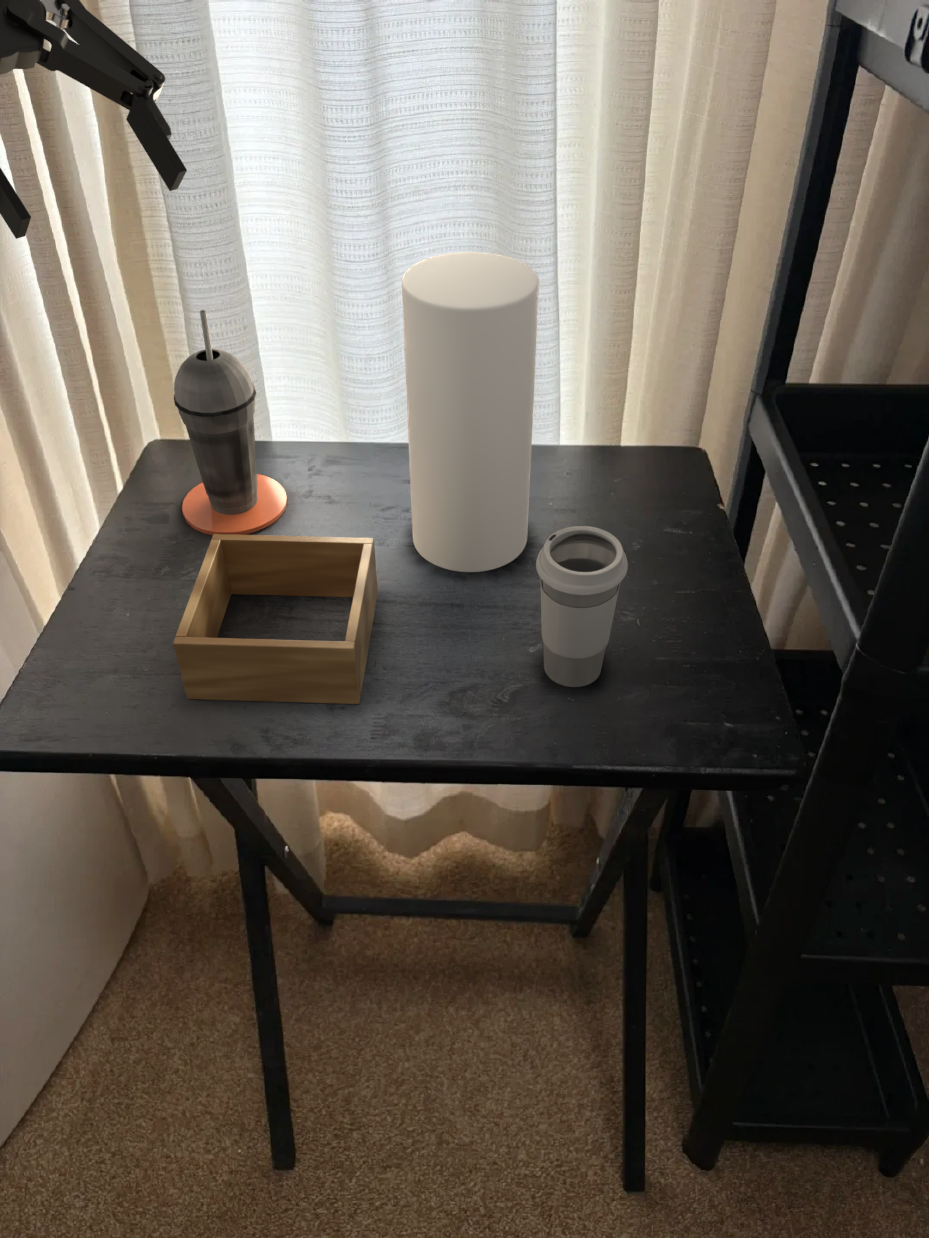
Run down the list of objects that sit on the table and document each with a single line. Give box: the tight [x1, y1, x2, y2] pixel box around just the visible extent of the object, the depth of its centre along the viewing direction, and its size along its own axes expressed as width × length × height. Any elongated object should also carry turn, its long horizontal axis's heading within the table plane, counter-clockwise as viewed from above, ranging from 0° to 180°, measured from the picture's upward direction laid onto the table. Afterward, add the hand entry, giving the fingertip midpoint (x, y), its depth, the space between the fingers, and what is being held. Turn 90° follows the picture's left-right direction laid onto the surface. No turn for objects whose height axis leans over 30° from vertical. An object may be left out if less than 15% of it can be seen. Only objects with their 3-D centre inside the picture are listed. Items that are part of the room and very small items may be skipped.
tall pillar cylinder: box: [401, 251, 540, 573], centre depth 89 cm, size 11×11×25 cm
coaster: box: [181, 473, 288, 536], centre depth 101 cm, size 10×10×1 cm
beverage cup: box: [173, 309, 258, 515], centre depth 95 cm, size 7×7×20 cm
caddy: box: [172, 534, 379, 705], centre depth 85 cm, size 14×14×6 cm
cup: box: [535, 525, 629, 688], centre depth 81 cm, size 7×7×12 cm
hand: (104, 204), depth 81 cm, fingers open, 13 cm apart
